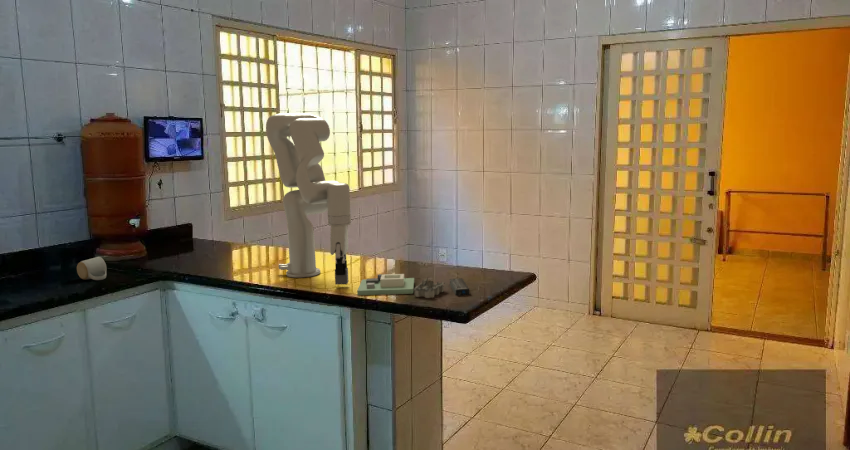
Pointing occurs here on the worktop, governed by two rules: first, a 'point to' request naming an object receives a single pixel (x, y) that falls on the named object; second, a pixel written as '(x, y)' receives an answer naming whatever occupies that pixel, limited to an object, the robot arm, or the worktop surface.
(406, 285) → the board
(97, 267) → the ceramic mug
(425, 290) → the egg carton
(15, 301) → the worktop surface
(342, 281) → the plug
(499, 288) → the worktop surface
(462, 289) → the multiport hub
